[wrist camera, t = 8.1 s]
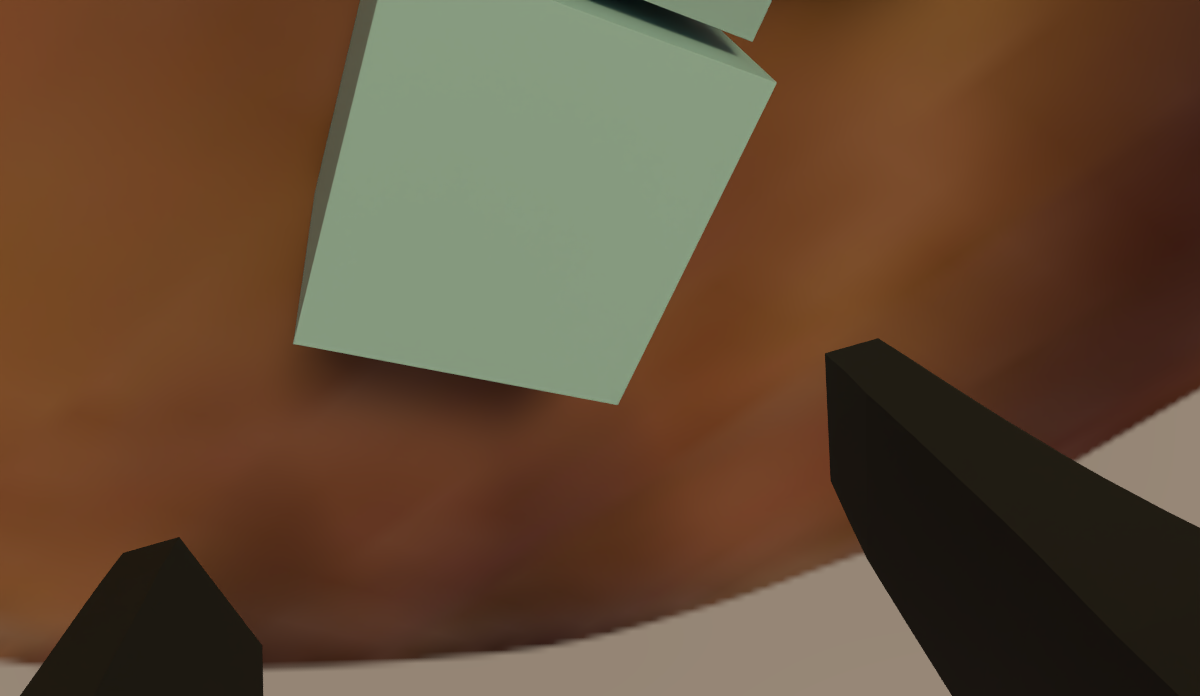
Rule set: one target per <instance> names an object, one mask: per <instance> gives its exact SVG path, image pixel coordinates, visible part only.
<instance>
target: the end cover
mask: <svg viewBox="0 0 1200 696" xmlns="http://www.w3.org/2000/svg"><path fill="white" fill-rule="evenodd" d="M771 1H772V0H360V3H359V7H358V12H357V16H356V20H355V24H354V29H353V33H352V37H351V41H350V46H349V50H348V54H347V58H346V63H345V67H344V71H343V75H342V80H341V84H340V88H339V92H338V97H337V101H336V105H335V109H334V114H333V118H332V122H331V126H330V131H329V135H328V139H327V143H326V148H325V152H324V156H323V160H322V165H321V169H320V173H319V177H318V182H317V186H316V190H315V195H314V202H313V209H312V216H311V223H310V230H309V237H308V244H307V251H306V258H305V265H304V272H303V279H302V286H301V293H300V300H299V307H298V314H297V321H296V328H295V335H294V343H293V344H297V345H303V346H308V347H313V348H319V349H324V350H329V351H334V352H340V353H345V354H350V355H356V356H361V357H366V358H372V359H377V360H382V361H387V362H393V363H398V364H403V365H409V366H414V367H419V368H425V369H430V370H435V371H440V372H446V373H451V374H456V375H462V376H467V377H472V378H477V379H483V380H488V381H493V382H499V383H504V384H509V385H515V386H520V387H525V388H530V389H536V390H541V391H546V392H552V393H557V394H562V395H568V396H573V397H578V398H583V399H589V400H594V401H599V402H605V403H610V404H615V405H618V403H619V401H620V399H621V397H622V395H623V393H624V391H625V389H626V387H627V385H628V383H629V381H630V379H631V377H632V375H633V373H634V371H635V369H636V367H637V365H638V363H639V361H640V359H641V357H642V355H643V353H644V351H645V349H646V347H647V345H648V343H649V341H650V339H651V337H652V335H653V332H654V330H655V328H656V326H657V324H658V322H659V320H660V318H661V316H662V314H663V312H664V310H665V308H666V306H667V304H668V302H669V300H670V298H671V296H672V294H673V292H674V290H675V288H676V286H677V284H678V282H679V280H680V278H681V276H682V274H683V272H684V270H685V268H686V266H687V264H688V262H689V260H690V258H691V256H692V254H693V251H694V249H695V247H696V245H697V243H698V241H699V239H700V237H701V235H702V233H703V231H704V229H705V227H706V225H707V223H708V221H709V219H710V217H711V215H712V213H713V211H714V209H715V207H716V205H717V203H718V201H719V199H720V197H721V195H722V193H723V191H724V189H725V187H726V185H727V183H728V181H729V179H730V177H731V175H732V173H733V170H734V168H735V166H736V164H737V162H738V160H739V158H740V156H741V154H742V152H743V150H744V148H745V146H746V144H747V142H748V140H749V138H750V136H751V134H752V132H753V130H754V128H755V126H756V124H757V122H758V120H759V118H760V116H761V114H762V112H763V110H764V108H765V106H766V104H767V102H768V100H769V98H770V96H771V94H772V92H773V89H774V87H775V85H776V83H777V82H776V81H774V80H773V79H772V78H771V77H770V76H769V75H768V74H767V73H766V72H765V71H764V70H763V69H762V68H761V67H760V66H758V65H757V64H756V63H755V62H754V61H753V60H752V59H751V58H750V57H749V56H748V55H747V54H746V53H745V52H743V51H742V50H741V49H740V48H739V47H738V46H737V45H736V44H735V43H734V42H733V41H732V40H731V39H730V38H729V37H727V36H726V35H725V34H724V33H723V32H722V31H721V30H723V31H726V32H728V33H731V34H733V35H736V36H739V37H741V38H744V39H747V40H749V41H752V42H753V40H754V37H755V35H756V33H757V31H758V29H759V27H760V25H761V22H762V20H763V18H764V16H765V14H766V12H767V10H768V7H769V5H770V3H771Z"/></svg>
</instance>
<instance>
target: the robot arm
mask: <svg viewBox="0 0 1200 696" xmlns="http://www.w3.org/2000/svg"><path fill="white" fill-rule="evenodd" d="M825 364H826V387H827V409H828V431H829V453H830V476H831V482H832V485H833V487H834V489H835V491H836V493H837V496H838V498H839V500H840V502H841V504H842V507H843V509H844V511H845V513H846V515H847V518H848V520H849V522H850V524H851V526H852V528H853V530H854V532H855V534H856V537H857V539H858V541H859V543H860V545H861V547H862V549H863V551H864V553H865V555H866V557H867V559H868V561H869V562H870V564H871V566H872V567H873V569H874V571H875V573H876V574H877V576H878V578H879V579H880V581H881V582H882V584H883V586H884V587H885V589H886V591H887V592H888V594H889V595H890V597H891V598H892V600H893V602H894V603H895V605H896V606H897V608H898V610H899V612H900V613H901V615H902V616H903V618H904V620H905V621H906V623H907V624H908V626H909V628H910V629H911V631H912V632H913V634H914V635H915V637H916V639H917V640H918V642H919V644H920V645H921V647H922V648H923V650H924V652H925V653H926V655H927V656H928V658H929V660H930V661H931V663H932V664H933V666H934V668H935V669H936V671H937V672H938V674H939V676H940V677H941V679H942V680H943V682H944V684H945V685H946V687H947V688H948V690H949V692H950V693H951V695H952V696H1200V528H1199V527H1197V526H1195V525H1193V524H1191V523H1189V522H1187V521H1185V520H1183V519H1181V518H1179V517H1177V516H1175V515H1173V514H1171V513H1169V512H1167V511H1165V510H1163V509H1161V508H1159V507H1158V506H1155V505H1154V504H1152V503H1150V502H1148V501H1146V500H1144V499H1142V498H1141V497H1139V496H1137V495H1135V494H1133V493H1131V492H1129V491H1128V490H1126V489H1124V488H1122V487H1120V486H1118V485H1116V484H1114V483H1113V482H1111V481H1109V480H1107V479H1105V478H1103V477H1101V476H1100V475H1098V474H1096V473H1094V472H1093V471H1091V470H1089V469H1087V468H1086V467H1084V466H1082V465H1080V464H1079V463H1077V462H1075V461H1073V460H1071V459H1070V458H1068V457H1066V456H1065V455H1063V454H1061V453H1060V452H1058V451H1056V450H1055V449H1053V448H1051V447H1050V446H1048V445H1046V444H1045V443H1043V442H1041V441H1040V440H1038V439H1036V438H1035V437H1033V436H1031V435H1030V434H1028V433H1026V432H1025V431H1023V430H1021V429H1020V428H1018V427H1016V426H1015V425H1013V424H1011V423H1010V422H1008V421H1006V420H1005V419H1003V418H1002V417H1000V416H998V415H997V414H995V413H994V412H992V411H990V410H989V409H987V408H986V407H984V406H982V405H981V404H979V403H978V402H976V401H975V400H973V399H972V398H970V397H968V396H967V395H965V394H964V393H962V392H961V391H959V390H957V389H956V388H954V387H953V386H951V385H950V384H948V383H947V382H945V381H944V380H942V379H940V378H939V377H937V376H936V375H934V374H933V373H931V372H930V371H928V370H927V369H925V368H924V367H922V366H921V365H919V364H917V363H916V362H914V361H913V360H911V359H910V358H908V357H907V356H905V355H904V354H902V353H900V352H899V351H897V350H896V349H894V348H893V347H891V346H889V345H888V344H886V343H885V342H883V341H881V340H880V339H874V340H871V341H867V342H864V343H860V344H857V345H853V346H850V347H846V348H842V349H839V350H835V351H832V352H828V353H825ZM20 696H263V662H262V645H261V644H260V642H259V641H258V640H257V638H256V637H255V636H254V634H253V633H252V632H251V630H250V629H249V628H248V627H247V625H246V624H245V623H244V621H243V620H242V619H241V617H240V616H239V615H238V613H237V612H236V611H235V609H234V608H233V607H232V606H231V604H230V603H229V602H228V600H227V599H226V598H225V596H224V595H223V594H222V592H221V591H220V590H219V589H218V587H217V586H216V585H215V583H214V582H213V581H212V579H211V578H210V577H209V575H208V574H207V573H206V572H205V570H204V569H203V568H202V566H201V565H200V564H199V562H198V561H197V560H196V558H195V557H194V556H193V555H192V553H191V552H190V551H189V549H188V548H187V547H186V545H185V544H184V543H183V541H182V540H181V539H180V538H179V537H178V538H174V539H171V540H167V541H164V542H160V543H157V544H153V545H150V546H146V547H143V548H139V549H136V550H132V551H129V552H125V553H123V554H122V555H121V556H120V558H119V559H118V560H117V562H116V563H115V564H114V565H113V567H112V568H111V569H110V571H109V572H108V573H107V575H106V576H105V577H104V579H103V580H102V581H101V583H100V584H99V585H98V587H97V588H96V590H95V591H94V592H93V594H92V595H91V596H90V598H89V599H88V601H87V602H86V603H85V605H84V606H83V608H82V609H81V610H80V612H79V613H78V615H77V616H76V618H75V619H74V620H73V622H72V623H71V625H70V626H69V627H68V629H67V630H66V632H65V633H64V635H63V636H62V637H61V639H60V640H59V642H58V643H57V644H56V646H55V647H54V649H53V650H52V652H51V653H50V654H49V656H48V657H47V659H46V660H45V661H44V663H43V664H42V666H41V667H40V669H39V670H38V671H37V673H36V674H35V676H34V677H33V678H32V680H31V681H30V682H29V684H28V685H27V687H26V688H25V689H24V691H23V693H22V694H21V695H20Z"/></svg>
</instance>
